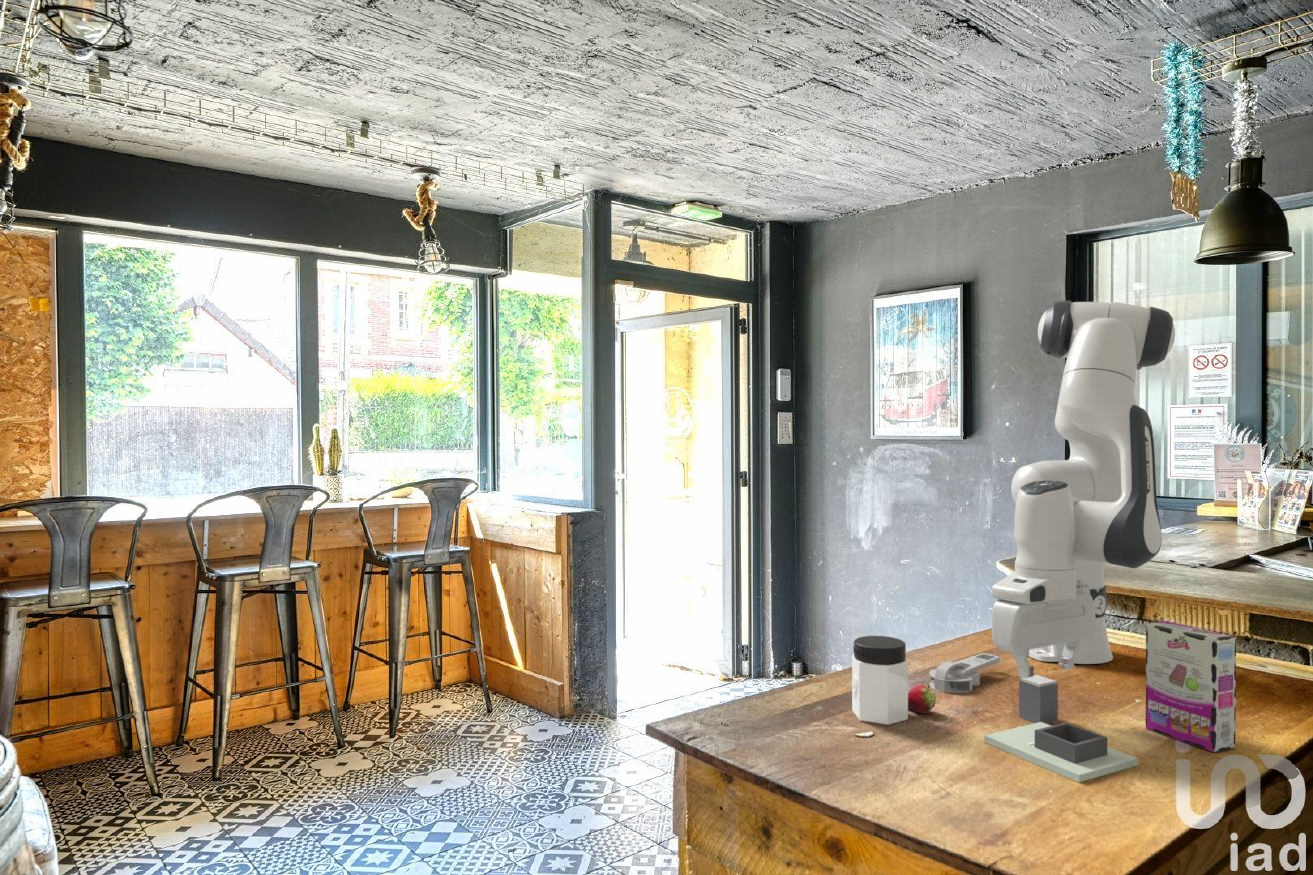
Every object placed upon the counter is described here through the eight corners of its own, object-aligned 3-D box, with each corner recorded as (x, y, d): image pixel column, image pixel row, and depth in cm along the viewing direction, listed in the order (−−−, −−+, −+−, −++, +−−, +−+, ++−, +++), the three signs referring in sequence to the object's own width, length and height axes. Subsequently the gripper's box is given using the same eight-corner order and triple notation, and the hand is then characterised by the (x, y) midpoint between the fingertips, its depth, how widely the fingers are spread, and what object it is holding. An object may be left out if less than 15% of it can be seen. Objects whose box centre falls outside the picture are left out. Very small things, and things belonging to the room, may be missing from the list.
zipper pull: (1011, 675, 162) (1011, 652, 162) (958, 696, 151) (959, 672, 150) (972, 666, 168) (972, 644, 168) (918, 686, 157) (918, 662, 156)
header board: (984, 741, 130) (984, 718, 130) (1040, 728, 135) (1040, 705, 135) (1078, 782, 115) (1079, 756, 115) (1138, 765, 121) (1138, 740, 121)
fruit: (912, 704, 147) (912, 674, 147) (942, 714, 142) (942, 683, 142) (895, 709, 144) (895, 679, 144) (926, 719, 139) (926, 688, 139)
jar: (847, 706, 146) (847, 635, 145) (895, 705, 146) (895, 634, 146) (861, 726, 137) (861, 649, 136) (913, 724, 137) (913, 648, 137)
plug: (1019, 717, 140) (1019, 677, 140) (1036, 713, 142) (1036, 674, 142) (1039, 725, 136) (1040, 684, 136) (1057, 721, 138) (1057, 680, 138)
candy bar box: (1237, 748, 126) (1239, 635, 126) (1214, 754, 124) (1215, 639, 124) (1165, 723, 137) (1166, 619, 136) (1143, 728, 135) (1144, 622, 134)
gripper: (1071, 576, 145) (1072, 659, 145) (984, 587, 136) (985, 676, 136) (1106, 581, 140) (1107, 667, 140) (1017, 594, 130) (1019, 687, 130)
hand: (1046, 672), depth 138 cm, fingers open, 8 cm apart
